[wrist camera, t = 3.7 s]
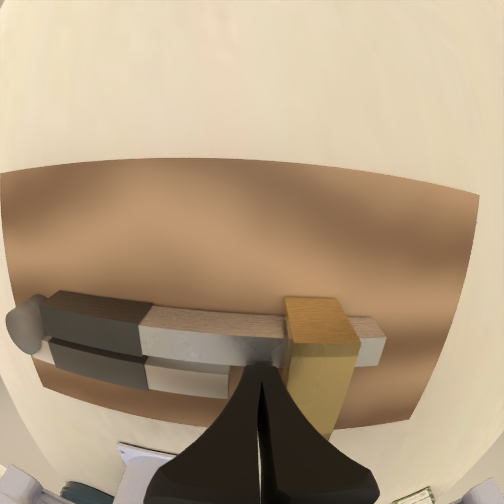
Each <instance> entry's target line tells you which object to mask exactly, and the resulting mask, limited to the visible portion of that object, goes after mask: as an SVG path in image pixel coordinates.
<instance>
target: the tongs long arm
mask: <svg viewBox="0 0 504 504" xmlns="http://www.w3.org/2000/svg"><path fill="white" fill-rule="evenodd" d="M39 310H40V314H41V318H42V322H43V325H44V329H45V333H46V335H48V336H51V337H55V338H58V339H62V340H66V341H70V342H74V343H78V344H82V345H86V346H90V347H95V348H99V349H104V350H108V351H113V352H118V353H123V354H129V355H134V356H140V357H142V356H143V355H148V356H154V357H161V358H168V359H175V360H183V361H191V362H200V363H210V364H221V365H234V366H246V365H256V366H276V367H277V368H283V366H284V359H285V353H286V346H287V338H288V332H287V327H286V321H285V316H276V315H256V314H240V313H226V312H213V311H201V310H190V309H179V308H170V307H160V306H153V305H152V303H145V302H137V301H129V300H121V299H113V298H106V297H99V296H92V295H86V294H79V293H73V292H67V291H61V290H59V291H58V292H56V293H55V294H53V295H52V296H51V297H49V298H48V299H46V300H45V301H44V302H42V303H41V304H39ZM347 318H348V320H349V321H350V323H351V325H352V327H353V328H354V330H355V332H356V334H357V335H358V337H359V339H360V341H361V342H362V344H361V347H360V351H359V354H358V358H357V361H356V365H355V367H363V366H378V363H379V360H380V357H381V354H382V351H383V348H384V345H385V341H386V338H387V337H386V336H385V334H384V333H383V332H382V330H381V329H380V327H379V326H378V325H377V323H376V322H375V321H374V319H373V318H372V317H347Z"/></svg>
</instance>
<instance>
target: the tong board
mask: <svg viewBox="0 0 504 504" xmlns="http://www.w3.org/2000/svg"><path fill="white" fill-rule="evenodd" d="M0 201H1V218H2V229H3V239H4V247H5V254H6V260H7V266H8V272H9V277H10V282H11V287H12V292H13V296H14V300H15V304H16V308H14V309H13V310H11V311H10V312H9V313H8V314H7V315H6V327H7V330H8V333H9V335H10V337H11V339H12V340H13V342H14V343H15V344H16V345H17V347H18V348H19V349H21V350H22V351H23V352H25V353H27V354H30V355H31V357H32V360H33V362H34V365H35V368H36V370H37V373H38V375H39V378H40V380H41V382H42V385H43V387H46V388H48V389H51V390H53V391H56V392H59V393H61V394H64V395H67V396H70V397H73V398H76V399H79V400H82V401H85V402H88V403H91V404H95V405H98V406H102V407H105V408H109V409H113V410H116V411H120V412H124V413H128V414H133V415H137V416H142V417H146V418H151V419H156V420H162V421H167V422H173V423H179V424H186V425H193V426H201V427H210V426H211V424H212V423H213V422H214V421H215V420H216V418H217V417H218V416H219V415H220V413H221V412H222V410H223V409H224V407H225V406H226V404H227V403H228V401H229V400H230V398H231V397H232V395H233V393H234V391H235V389H236V387H237V385H238V383H239V381H240V379H241V376H242V373H243V369H244V367H245V366H234V365H221V364H210V363H200V362H191V361H183V360H175V359H168V358H161V357H154V356H148V355H143V356H142V357H140V356H134V355H129V354H123V353H118V352H113V351H108V350H104V349H99V348H95V347H90V346H86V345H82V344H78V343H74V342H70V341H66V340H62V339H58V338H55V337H51V336H48V335H46V333H45V329H44V325H43V322H42V318H41V314H40V310H39V304H41V303H42V302H44V301H45V300H46V299H48V298H49V297H51V296H52V295H53V294H55V293H56V292H58V291H59V290H61V291H67V292H73V293H79V294H86V295H92V296H99V297H106V298H113V299H121V300H129V301H137V302H145V303H152V305H153V306H160V307H170V308H179V309H190V310H201V311H213V312H226V313H240V314H256V315H276V316H285V315H284V310H283V306H284V297H301V298H329V299H337V301H338V302H339V304H340V306H341V308H342V309H343V311H344V313H345V314H346V316H347V317H372V318H373V319H374V321H375V322H376V323H377V325H378V326H379V327H380V329H381V330H382V332H383V333H384V334H385V336H386V337H387V338H386V341H385V345H384V348H383V351H382V354H381V357H380V360H379V363H378V366H363V367H355V368H354V371H353V374H352V377H351V381H350V384H349V387H348V390H347V393H346V396H345V398H344V401H343V404H342V407H341V410H340V412H339V415H338V418H337V421H336V423H335V426H334V428H333V430H334V429H345V428H355V427H363V426H371V425H378V424H385V423H391V422H396V421H402V420H407V419H409V418H410V417H411V415H412V413H413V411H414V409H415V407H416V405H417V404H418V402H419V400H420V398H421V396H422V394H423V392H424V390H425V388H426V385H427V383H428V381H429V379H430V377H431V375H432V372H433V370H434V368H435V365H436V363H437V361H438V358H439V356H440V353H441V351H442V348H443V346H444V343H445V341H446V338H447V335H448V332H449V330H450V327H451V324H452V321H453V318H454V315H455V312H456V308H457V305H458V302H459V298H460V295H461V291H462V288H463V284H464V280H465V276H466V272H467V268H468V263H469V259H470V254H471V249H472V244H473V239H474V233H475V227H476V220H477V213H478V205H479V195H477V194H474V193H470V192H466V191H462V190H458V189H454V188H449V187H445V186H441V185H436V184H431V183H427V182H422V181H417V180H412V179H407V178H401V177H396V176H390V175H384V174H378V173H372V172H365V171H358V170H351V169H344V168H336V167H328V166H319V165H310V164H299V163H288V162H276V161H261V160H244V159H218V158H149V159H124V160H107V161H93V162H81V163H71V164H62V165H53V166H45V167H38V168H31V169H24V170H18V171H11V172H6V173H0ZM278 371H279V374H280V376H281V378H282V373H283V368H278ZM257 431H258V427H257Z"/></svg>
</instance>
